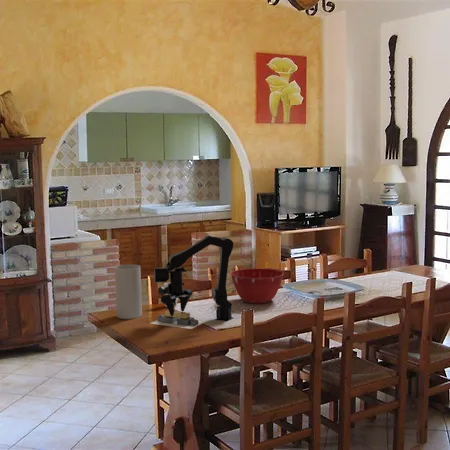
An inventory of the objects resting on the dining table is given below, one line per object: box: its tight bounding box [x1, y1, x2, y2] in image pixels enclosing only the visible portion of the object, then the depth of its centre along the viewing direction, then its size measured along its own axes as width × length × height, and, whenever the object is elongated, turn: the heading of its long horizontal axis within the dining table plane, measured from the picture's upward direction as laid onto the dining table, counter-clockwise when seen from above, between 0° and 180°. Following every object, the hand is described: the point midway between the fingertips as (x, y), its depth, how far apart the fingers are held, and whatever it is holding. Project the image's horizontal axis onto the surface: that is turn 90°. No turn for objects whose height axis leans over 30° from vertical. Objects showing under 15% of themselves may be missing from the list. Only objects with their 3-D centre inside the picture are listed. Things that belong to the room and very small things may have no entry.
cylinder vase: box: [114, 264, 143, 320], centre depth 313 cm, size 12×12×25 cm
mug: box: [163, 281, 180, 308], centre depth 334 cm, size 10×7×12 cm, turn 124°
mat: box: [149, 317, 206, 330], centre depth 299 cm, size 23×13×1 cm, turn 62°
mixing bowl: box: [229, 268, 284, 305], centre depth 340 cm, size 28×28×15 cm
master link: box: [164, 309, 191, 320], centre depth 299 cm, size 12×3×5 cm, turn 62°
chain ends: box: [157, 314, 199, 327], centre depth 299 cm, size 21×6×2 cm, turn 62°
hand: (177, 313), depth 299 cm, fingers open, 9 cm apart
